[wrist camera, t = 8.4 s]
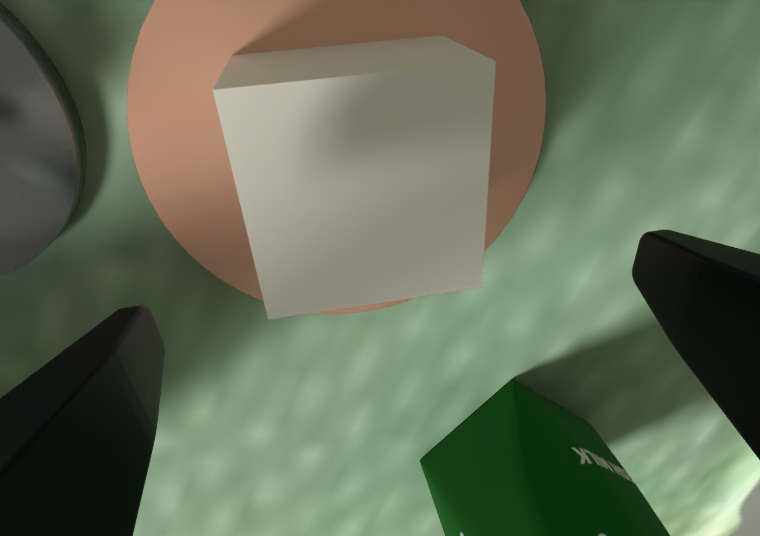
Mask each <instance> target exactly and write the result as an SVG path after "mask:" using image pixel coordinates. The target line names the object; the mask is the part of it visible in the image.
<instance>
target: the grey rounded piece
mask: <svg viewBox="0 0 760 536" xmlns="http://www.w3.org/2000/svg"><path fill="white" fill-rule="evenodd" d="M86 167H87V166H86V146H85V140H84V135H83V130H82V125H81V122H80V119H79V116H78V113H77V110H76V107H75V104H74V102H73V100H72V98H71V96H70V93H69V91H68V89H67V87H66V85H65V83H64V81H63V79H62V78H61V76H60V74H59V73H58V71H57V69H56V68H55V66H54V65H53V63H52V61H51V60H50V58H49V57H48V56H47V54H46V53H45V52H44V50H43V49H42V48H41V46H40V45H39V44H38V42H37V41H36V40H35V39H34V37H33V36H32V35H31V34H30V33H29V32H28V30H27V29H26V28H25V27H24V26H23V25H22V24H21V23H20V22H19V21H18V20H17V19H16V18H15V16H14V15H13V14H12V13H11V12H10V11H9V10H7V9H6V8H5V7H4V6H3V5H2V4H1V3H0V276H1V275H4V274H7V273H9V272H11V271H13V270H15V269H17V268H19V267H21V266H23V265H25V264H26V263H28V262H29V261H31V260H32V259H34V258H35V257H37V256H38V255H39V254H40V253H41V252H42V251H43V250H44V249H45V248H46V247H47V246H49V245H50V244H51V242H52V241H53V240H54V239H55V237H56V236H57V235H58V234H59V233H60V231H61V230H62V229H63V228H64V226H65V225H66V224H67V222H68V221H69V220H70V218H71V217H72V215H73V213H74V211H75V209H76V207H77V205H78V203H79V201H80V198H81V194H82V191H83V188H84V184H85V175H86Z"/></svg>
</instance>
